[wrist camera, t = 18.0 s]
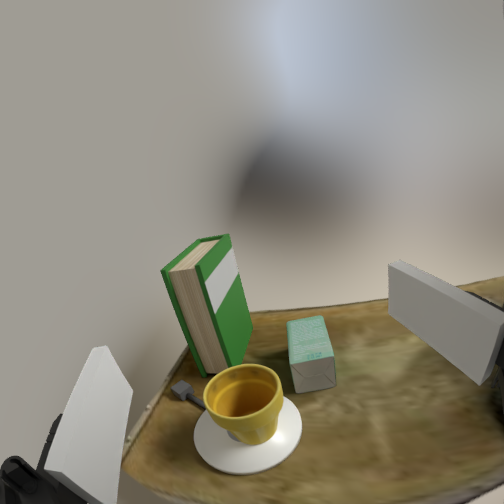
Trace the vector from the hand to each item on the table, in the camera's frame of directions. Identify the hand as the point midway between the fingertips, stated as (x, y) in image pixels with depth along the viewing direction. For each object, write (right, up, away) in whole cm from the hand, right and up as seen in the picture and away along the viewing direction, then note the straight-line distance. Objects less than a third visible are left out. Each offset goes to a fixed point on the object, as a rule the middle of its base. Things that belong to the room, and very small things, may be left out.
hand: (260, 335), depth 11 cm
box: (+11, -18, +37) cm, 43 cm away
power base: (-5, -24, +28) cm, 38 cm away
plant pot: (0, -23, +24) cm, 33 cm away
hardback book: (-5, -19, +47) cm, 51 cm away
